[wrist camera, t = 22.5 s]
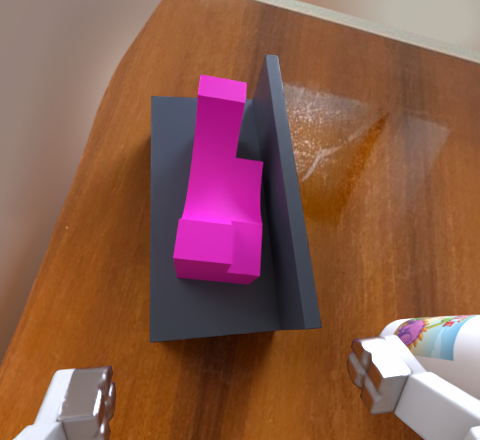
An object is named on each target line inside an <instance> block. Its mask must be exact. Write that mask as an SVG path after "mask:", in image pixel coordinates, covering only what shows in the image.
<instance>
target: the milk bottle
mask: <svg viewBox="0 0 480 440" xmlns="http://www.w3.org/2000/svg"><path fill="white" fill-rule="evenodd" d="M386 335H396V336H397V337H399V339H400V340H401V341H402V342H403V343H404V345H405V346H406V347H407V348H408V350H409V351H410V352H411V353H412V354H413V356H414V357H415V358H416V359H417V361H418V362H419V363H420V364H421V365H422V367H423V368H424V369H425V370H426V371H427V372H432V373H434V374H435V375H437V376H439V377H440V378H442V379H444V380H445V381H447V382H449V383H451V384H452V385H454V386H456V387H457V388H459V389H461V390H462V391H464V392H466V393H468V394H469V395H471V396H473V397H474V398H476V399H478V400H479V401H480V315H462V316H443V317H427V318H413V319H402V320H397V321H394V322H392V323H390V324H389V325H388V326H386V327H385V329H384V330H383V331H382V333H381V334H380V336H386Z"/></svg>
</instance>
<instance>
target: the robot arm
mask: <svg viewBox="0 0 480 440" xmlns="http://www.w3.org/2000/svg"><path fill="white" fill-rule="evenodd" d="M351 348H352V349H353V352H352V353H351V354H350V355H349V356H348V360H347V369H348V373H349V376H350V378H351V380H352V382H353V384H354V385H355V386H357V387H358V388H360V389H361V394H360V397H361V399H362V400H363V402H364V404H365V406H366V407H367V409H368V411H369V413H370V415H374V414H382V413H391V412H394V414H395V415H396V416H397V417H399V418H400V419H401V420H402V421H403V422H404V423H406V424H407V425H408V426H409V427H410V428H411V429H413V430H414V431H415V432H416V433H417V434H418V435H419V436H421V437H422V438H423V439H424V440H480V401H479V400H478V399H476V398H474V397H473V396H471V395H469V394H468V393H466V392H464V391H462V390H461V389H459V388H457V387H456V386H454V385H452V384H451V383H449V382H447V381H445V380H444V379H442V378H440V377H439V376H437V375H435V374H434V373H432V372H427V371H426V370H425V369H424V368H423V367H422V365H421V364H420V363H419V362H418V361H417V359H416V358H415V357H414V356H413V354H412V353H411V352H410V351H409V350H408V348H407V347H406V346H405V345H404V343H403V342H402V341H401V340H400V339H399V337H397V336H396V335H386V336H375V337H367V338H358V339H354V340H353V341H352V345H351ZM112 376H113V371H112V366H99V367H86V368H76V369H65V370H57V372H56V373H55V374H54V376H53V378H52V380H51V383H50V385H49V388H48V390H47V393H46V395H45V397H44V400H43V402H42V405H41V407H40V410H39V412H38V415H37V417H36V419H35V422H34V424H33V425H30V426H27V427H26V428H25V429H24V430H23V431H22V432H20V433H19V434H18V435H17V436H16V437H15V438H14V439H13V440H109V438H110V433H111V430H110V425H109V421H110V420H111V419H112V418H113V416H114V411H115V403H116V387H115V383H114V382H112Z"/></svg>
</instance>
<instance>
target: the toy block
mask: <svg viewBox="0 0 480 440" xmlns="http://www.w3.org/2000/svg"><path fill="white" fill-rule="evenodd" d="M246 88H247V83H245V82H239V81H234V80H228V79H222V78H217V77H211V76H205V75H201V77H200V84H199V90H198V100H197V114H196V126H195V136H194V146H193V154H192V163H191V170H190V178H189V184H188V191H187V197H186V202H185V207H184V212H183V216H182V219H179V223H178V229H177V236H176V242H175V249H174V256H173V260H174V265H175V270H176V275H177V278H187V279H197V280H208V281H218V282H228V283H238V284H248V285H249V284H250V283H252V282H253V281H254V280H255V279H257V278H258V277H259V276H260V261H261V242H262V221H261V213H260V190H261V177H262V169H263V162H261V161H254V160H247V159H241V158H236V152H237V145H238V139H239V132H240V127H241V121H242V116H243V111H244V106H245V100H246Z"/></svg>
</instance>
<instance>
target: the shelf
mask: <svg viewBox="0 0 480 440" xmlns="http://www.w3.org/2000/svg"><path fill="white" fill-rule="evenodd" d="M197 100H198V98H188V97H160V96H151V221H150V343H151V342H161V341H172V340H182V339H193V338H204V337H214V336H225V335H235V334H246V333H256V332H267V331H277V330H302V329H315V328H322V326H321V320H320V314H319V308H318V302H317V295H316V289H315V283H314V277H313V271H312V265H311V259H310V252H309V246H308V240H307V234H306V228H305V222H304V215H303V209H302V203H301V197H300V191H299V185H298V178H297V172H296V166H295V160H294V154H293V148H292V141H291V135H290V129H289V123H288V117H287V111H286V104H285V98H284V92H283V86H282V80H281V74H280V67H279V61H278V56H277V55H265V58H264V61H263V65H262V69H261V72H260V76H259V80H258V83H257V87H256V90H255V94H254V98H253V100H245V106H244V111H243V116H242V121H241V127H240V132H239V139H238V145H237V152H236V158H241V159H247V160H254V161H261V162H263V169H262V177H261V190H260V213H261V221H262V242H261V261H260V276H259V277H258V278H257V279H255V280H254V281H253V282H252V283H250V284H249V285H248V284H238V283H228V282H218V281H208V280H197V279H187V278H177V275H176V270H175V265H174V260H173V256H174V249H175V242H176V236H177V229H178V223H179V219H182V216H183V212H184V207H185V202H186V197H187V191H188V184H189V178H190V170H191V163H192V154H193V146H194V136H195V126H196V114H197Z"/></svg>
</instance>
